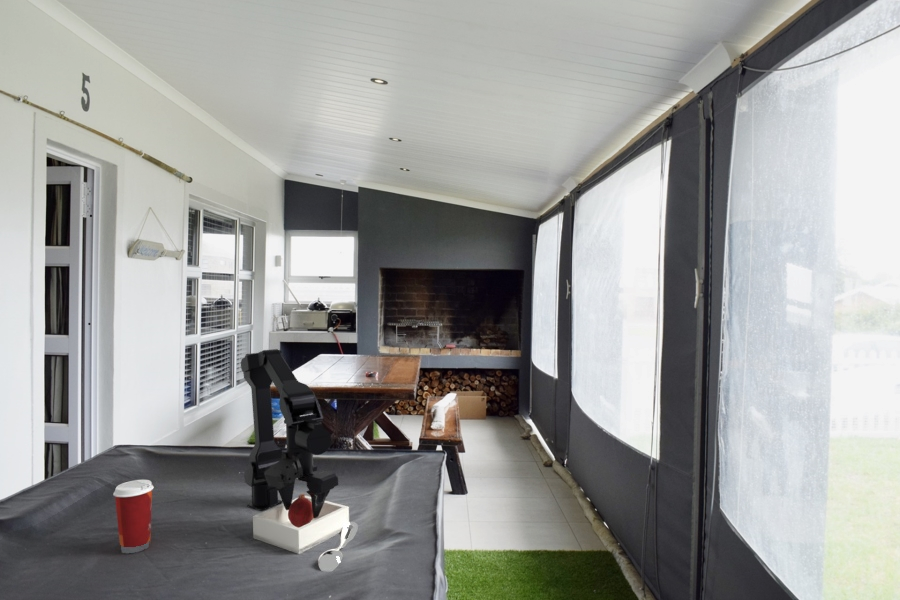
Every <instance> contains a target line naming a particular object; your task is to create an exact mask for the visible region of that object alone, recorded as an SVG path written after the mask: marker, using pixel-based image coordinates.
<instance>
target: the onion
mask: <svg viewBox="0 0 900 600" xmlns="http://www.w3.org/2000/svg"><path fill="white" fill-rule="evenodd" d="M304 496H306V495H305V494H304V493H300V494H299V495H298V497H297V498H298V499H296V498H295V499H296V500H295V501H294V502H293V503H292V504H291V506H290V508H289V511H288V518H289V520H290V522H291V524H292V525H294V526H296V527H298V528H300V527H302V526H304V525H306V524H308V523H310V522H311V521H312V519H313V513H312V503H311V502H310V501H309V500H308V499H307V498H305V497H304Z"/></svg>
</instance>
